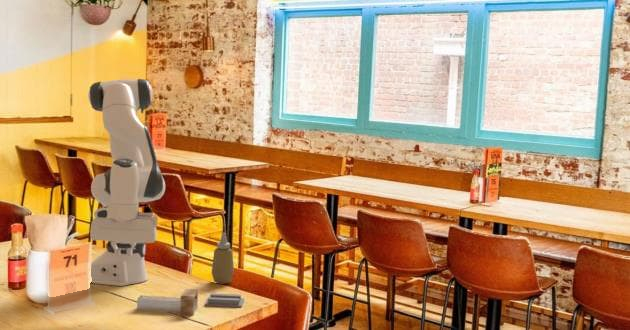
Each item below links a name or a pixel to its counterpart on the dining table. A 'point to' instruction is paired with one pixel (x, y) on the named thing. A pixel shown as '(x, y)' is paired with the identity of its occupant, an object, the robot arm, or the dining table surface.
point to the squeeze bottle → (223, 262)
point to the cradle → (224, 300)
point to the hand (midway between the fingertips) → (123, 255)
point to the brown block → (188, 301)
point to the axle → (160, 304)
